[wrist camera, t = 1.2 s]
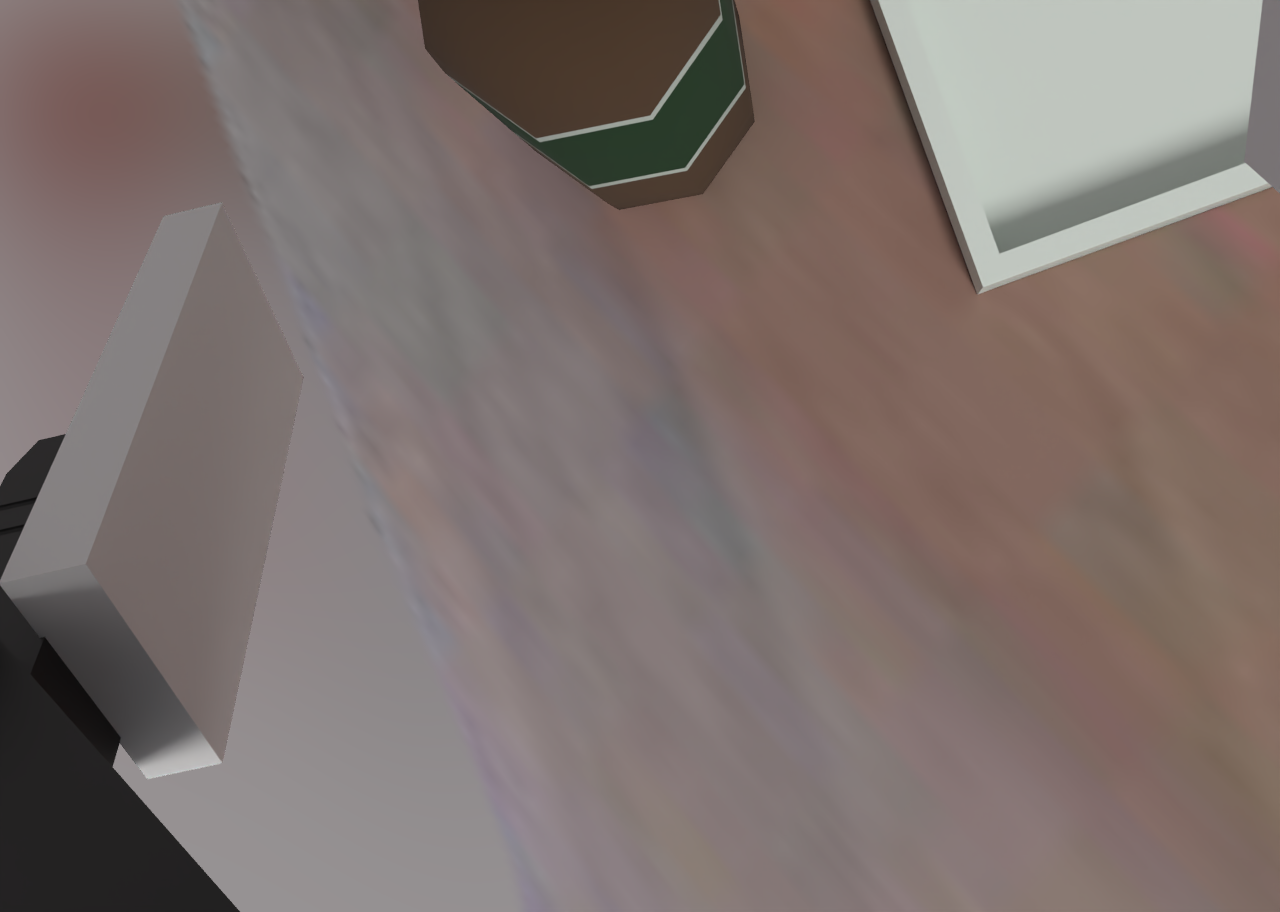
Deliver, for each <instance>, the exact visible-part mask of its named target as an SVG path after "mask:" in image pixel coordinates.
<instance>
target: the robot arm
mask: <svg viewBox="0 0 1280 912" xmlns="http://www.w3.org/2000/svg"><path fill="white" fill-rule="evenodd" d="M1244 162H1245V163H1246V164H1247V165H1249V166H1250V167H1251V168H1252V169H1253V170H1254V171H1255V172H1256V173H1257V174H1259V175H1260V176H1261V177H1262V178H1263V179H1264V180H1265V181H1266V182H1268V183H1269V184H1270V185H1271V186H1272V187H1273V188H1274V189H1275V190H1277V191H1278V192H1279V193H1280V0H1263V2H1262V11H1261V20H1260V28H1259V37H1258V46H1257V54H1256V63H1255V72H1254V80H1253V89H1252V98H1251V106H1250V115H1249V124H1248V133H1247V141H1246V150H1245V159H1244ZM303 378H304V377H303V375H302V373H301V371H300V368H299V366H298V364H297V362H296V360H295V358H294V356H293V353H292V351H291V349H290V348H289V345H288V343H287V341H286V338H285V337H284V334H283V332H282V330H281V328H280V326H279V323H278V321H277V319H276V317H275V315H274V313H273V311H272V309H271V306H270V304H269V302H268V300H267V298H266V296H265V294H264V291H263V289H262V287H261V285H260V283H259V281H258V278H257V276H256V275H255V272H254V270H253V268H252V266H251V263H250V261H249V259H248V257H247V255H246V253H245V251H244V248H243V246H242V244H241V242H240V240H239V238H238V236H237V233H236V231H235V229H234V227H233V225H232V223H231V221H230V218H229V216H228V214H227V212H226V210H225V208H224V206H223V203H222V202H221V203H217V204H214V205H209V206H204V207H200V208H196V209H192V210H188V211H183V212H180V213H175V214H171V215H167V216H164V217H163V219H162V221H161V224H160V226H159V228H158V230H157V232H156V235H155V237H154V239H153V241H152V244H151V246H150V248H149V250H148V253H147V255H146V257H145V259H144V261H143V264H142V266H141V268H140V270H139V272H138V275H137V277H136V279H135V281H134V284H133V286H132V288H131V290H130V292H129V295H128V297H127V299H126V301H125V304H124V306H123V308H122V310H121V313H120V315H119V317H118V319H117V321H116V324H115V326H114V328H113V330H112V333H111V335H110V337H109V339H108V341H107V344H106V346H105V348H104V350H103V353H102V355H101V357H100V359H99V362H98V364H97V366H96V368H95V370H94V373H93V375H92V377H91V379H90V382H89V384H88V386H87V388H86V390H85V393H84V395H83V397H82V399H81V402H80V404H79V406H78V408H77V410H76V413H75V415H74V417H73V419H72V421H71V424H70V426H69V428H68V431H67V433H66V434H64V435H60V436H56V437H52V438H47V439H43V440H39V441H38V442H37V443H36V444H35V445H34V446H33V447H32V448H31V449H30V450H29V451H28V452H27V453H26V454H25V455H24V456H23V457H22V458H21V459H20V460H19V462H18V463H17V464H16V465H15V466H14V467H13V468H12V469H11V470H10V471H9V472H8V473H7V474H6V476H5V478H4V480H3V482H2V484H1V486H0V912H240V911H239V910H238V909H237V908H236V907H235V906H234V905H233V903H232V902H231V901H230V900H229V899H228V898H227V897H226V895H225V894H224V893H223V892H222V891H221V890H220V889H219V888H218V886H217V885H216V884H215V883H214V882H213V881H212V880H211V878H210V877H209V876H208V875H207V874H206V873H205V872H204V870H203V869H202V868H201V867H200V866H199V865H198V864H197V863H196V862H195V860H194V859H193V858H192V857H191V856H190V855H189V854H188V852H187V851H186V850H185V849H184V848H183V847H182V846H181V844H179V842H178V841H177V840H176V839H175V838H174V836H173V835H172V834H171V833H170V832H169V831H168V830H167V829H166V827H165V826H164V825H163V824H162V823H161V822H160V821H159V819H158V818H157V817H156V816H155V815H154V814H153V813H152V812H151V810H150V809H149V808H148V807H147V806H146V805H145V804H144V803H143V801H142V800H141V799H140V798H139V797H138V796H137V795H136V793H135V792H134V791H133V790H132V789H131V788H130V787H129V786H128V784H127V783H126V782H125V781H124V780H123V779H122V778H121V776H120V775H119V774H118V773H117V772H116V771H115V770H114V768H113V763H114V760H115V756H116V753H117V750H118V746H119V743H120V744H121V745H122V747H123V748H124V749H125V750H126V752H127V753H128V754H129V756H130V757H131V758H132V760H133V761H134V762H135V764H136V765H137V766H138V768H139V769H140V770H141V772H142V773H143V774H144V776H145V777H146V778H147V779H150V778H155V777H160V776H165V775H169V774H174V773H179V772H183V771H188V770H193V769H198V768H202V767H207V766H211V765H216V764H221V763H223V758H224V753H225V748H226V744H227V739H228V734H229V730H230V725H231V720H232V715H233V711H234V706H235V701H236V696H237V691H238V687H239V682H240V677H241V673H242V668H243V663H244V658H245V653H246V649H247V644H248V639H249V635H250V630H251V625H252V620H253V616H254V611H255V606H256V601H257V597H258V591H259V587H260V582H261V577H262V572H263V568H264V563H265V558H266V553H267V549H268V544H269V539H270V534H271V530H272V525H273V520H274V516H275V511H276V506H277V501H278V496H279V492H280V487H281V482H282V477H283V473H284V468H285V463H286V458H287V453H288V449H289V444H290V439H291V435H292V430H293V425H294V421H295V416H296V411H297V406H298V401H299V397H300V392H301V387H302V383H303Z"/></svg>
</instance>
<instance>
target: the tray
mask: <svg viewBox="0 0 1280 912" xmlns="http://www.w3.org/2000/svg"><path fill="white" fill-rule="evenodd" d="M870 2H871V4H872V7H873V10H874V13H875V15H876V18H877V21H878V24H879V26H880V29H881V32H882V35H883V37H884V40H885V43H886V46H887V48H888V51H889V54H890V57H891V59H892V62H893V65H894V68H895V70H896V73H897V76H898V78H899V81H900V84H901V87H902V89H903V92H904V95H905V98H906V100H907V103H908V106H909V109H910V111H911V114H912V117H913V120H914V122H915V125H916V128H917V131H918V133H919V136H920V139H921V142H922V144H923V147H924V150H925V153H926V155H927V158H928V161H929V164H930V166H931V169H932V172H933V175H934V177H935V180H936V183H937V185H938V188H939V191H940V194H941V196H942V199H943V202H944V205H945V207H946V210H947V213H948V216H949V218H950V221H951V224H952V227H953V229H954V232H955V235H956V238H957V240H958V243H959V246H960V249H961V251H962V254H963V257H964V260H965V262H966V265H967V268H968V271H969V273H970V276H971V279H972V281H973V284H974V287H975V290H976V292H977V294H980V293H983V292H985V291H988V290H991V289H994V288H996V287H999V286H1002V285H1005V284H1007V283H1010V282H1013V281H1016V280H1018V279H1021V278H1024V277H1027V276H1029V275H1032V274H1035V273H1038V272H1040V271H1043V270H1046V269H1049V268H1051V267H1054V266H1057V265H1060V264H1062V263H1065V262H1068V261H1071V260H1073V259H1076V258H1079V257H1082V256H1084V255H1087V254H1090V253H1093V252H1095V251H1098V250H1101V249H1104V248H1106V247H1109V246H1112V245H1115V244H1117V243H1120V242H1123V241H1125V240H1128V239H1131V238H1134V237H1136V236H1139V235H1142V234H1145V233H1147V232H1150V231H1153V230H1156V229H1158V228H1161V227H1164V226H1167V225H1169V224H1172V223H1175V222H1178V221H1180V220H1183V219H1186V218H1189V217H1191V216H1194V215H1197V214H1200V213H1202V212H1205V211H1208V210H1211V209H1213V208H1216V207H1219V206H1222V205H1224V204H1227V203H1230V202H1233V201H1235V200H1238V199H1241V198H1244V197H1246V196H1249V195H1252V194H1255V193H1257V192H1260V191H1263V190H1265V189H1268V188H1271V187H1272V186H1271V185H1270V184H1269V183H1268V182H1266V181H1265V180H1264V179H1263V178H1262V177H1261V176H1260V175H1259V174H1257V173H1256V172H1255V171H1254V170H1253V169H1252V168H1251V167H1250V166H1249V165H1247V164H1246V163H1245V162H1244V159H1245V150H1246V141H1247V133H1248V124H1249V115H1250V106H1251V98H1252V89H1253V80H1254V72H1255V63H1256V54H1257V46H1258V37H1259V28H1260V20H1261V11H1262V2H1263V0H870Z"/></svg>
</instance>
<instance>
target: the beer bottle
mask: <svg viewBox="0 0 1280 912" xmlns="http://www.w3.org/2000/svg"><path fill="white" fill-rule="evenodd" d="M418 3H419V10H420V17H421V24H422V30H423V37H424V44H425V49H426V50H427V51H428V53H429V54H430V55H431V56H432V58H433V59H434V60H435V61H436V62H437V64H438V65H439V66H440V67H441V69H442V70H443V71H444V72H445V73H446V74H447V75H448V76H449V77H450V78H451V79H453V80H454V81H455V82H456V83H457V84H458V85H459V86H461V87H462V88H463V89H464V90H465V91H466V92H468V93H469V94H470V95H471V96H472V97H473V98H475V99H476V100H477V101H478V102H479V103H480V104H482V105H483V106H484V107H485V108H486V109H487V110H488V111H490V112H491V113H492V114H493V115H494V116H495V117H497V118H498V119H499V120H500V121H501V122H502V123H504V124H505V125H506V126H507V127H508V128H509V129H510V130H512V131H513V132H514V133H515V134H516V135H517V136H519V137H520V138H521V139H522V140H523V141H524V142H526V143H527V144H528V145H529V146H530V147H531V148H533V149H534V150H535V151H536V152H537V153H539V154H540V155H542V156H543V157H544V158H546V159H547V160H548V161H550V162H551V163H553V164H554V165H555V166H557V167H558V168H560V169H561V170H562V171H564V172H565V173H567V174H568V175H569V176H571V177H572V178H573V179H575V180H576V181H578V182H579V183H580V184H582V185H583V186H585V187H586V188H587V189H589V190H590V191H591V192H593V193H594V194H596V195H597V196H598V197H600V198H601V199H603V200H604V201H605V202H607V203H608V204H610V205H612V206H613V207H615V208H617V209H619V210H620V209H626V208H631V207H636V206H641V205H647V204H652V203H657V202H663V201H668V200H673V199H679V198H684V197H689V196H695V195H700V194H703V193H704V192H705V190H706V189H707V188H708V186H709V185H710V183H711V182H712V181H713V179H714V178H715V176H716V175H717V173H718V172H719V171H720V169H721V168H722V166H723V165H724V164H725V162H726V161H727V159H728V158H729V157H730V155H731V154H732V152H733V151H734V150H735V148H736V147H737V145H738V144H739V143H740V141H741V140H742V138H743V137H744V136H745V134H746V133H747V131H748V130H749V129H750V127H751V126H752V124H753V123H754V114H753V106H752V100H751V93H750V86H749V80H748V73H747V66H746V60H745V53H744V46H743V40H742V33H741V26H740V20H739V14H738V11H737V8H736V4H735V1H734V0H418Z"/></svg>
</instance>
